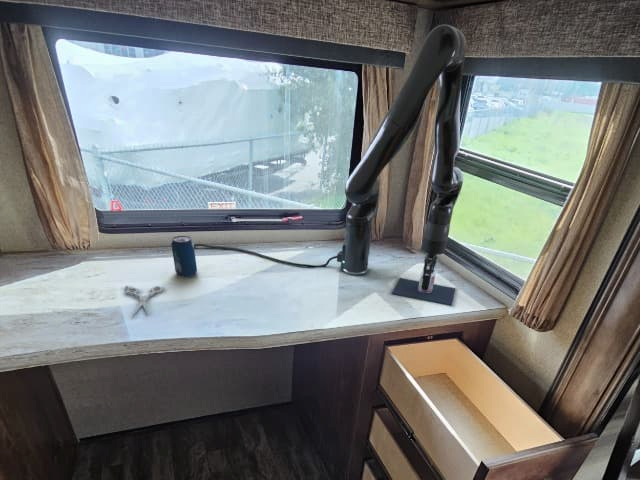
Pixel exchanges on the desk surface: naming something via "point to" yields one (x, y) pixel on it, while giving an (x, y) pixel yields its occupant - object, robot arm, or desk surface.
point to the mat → (437, 295)
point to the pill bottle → (429, 282)
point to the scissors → (142, 299)
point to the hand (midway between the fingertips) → (425, 286)
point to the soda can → (184, 256)
